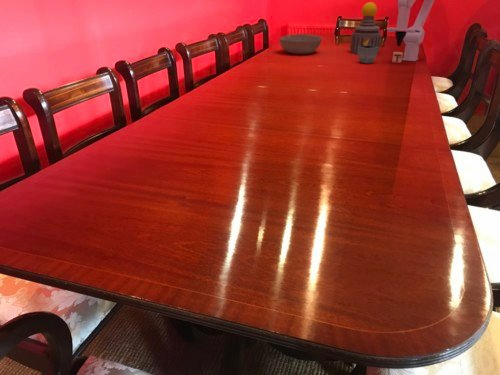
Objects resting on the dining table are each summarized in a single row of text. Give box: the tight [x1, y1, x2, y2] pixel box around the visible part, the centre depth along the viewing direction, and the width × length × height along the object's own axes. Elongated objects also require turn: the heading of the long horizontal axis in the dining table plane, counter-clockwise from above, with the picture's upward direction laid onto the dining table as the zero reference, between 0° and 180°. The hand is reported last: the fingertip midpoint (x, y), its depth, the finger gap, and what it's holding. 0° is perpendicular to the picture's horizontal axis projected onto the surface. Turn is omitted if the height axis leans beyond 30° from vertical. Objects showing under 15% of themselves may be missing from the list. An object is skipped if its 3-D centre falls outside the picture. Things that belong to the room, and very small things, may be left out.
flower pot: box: [357, 45, 380, 64], centre depth 226 cm, size 9×9×9 cm
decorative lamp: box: [349, 1, 382, 55], centre depth 252 cm, size 19×19×30 cm
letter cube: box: [391, 51, 404, 63], centre depth 229 cm, size 5×5×5 cm
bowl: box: [278, 33, 323, 55], centre depth 258 cm, size 28×28×10 cm
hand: (398, 45), depth 222 cm, fingers closed
